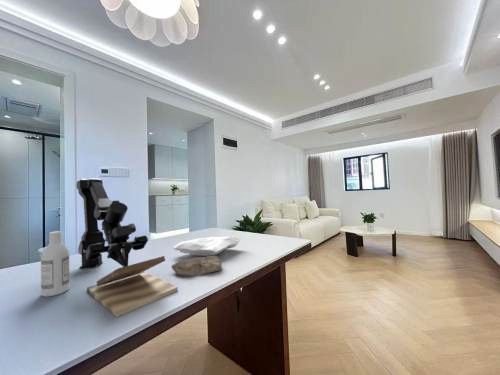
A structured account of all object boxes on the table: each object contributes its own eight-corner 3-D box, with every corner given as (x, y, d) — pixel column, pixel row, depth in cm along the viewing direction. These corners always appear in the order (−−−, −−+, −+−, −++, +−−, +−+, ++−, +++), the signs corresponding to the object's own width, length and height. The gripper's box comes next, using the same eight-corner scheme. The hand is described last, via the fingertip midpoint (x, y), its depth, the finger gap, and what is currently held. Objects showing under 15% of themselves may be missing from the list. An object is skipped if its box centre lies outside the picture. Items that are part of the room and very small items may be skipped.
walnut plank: (96, 281, 71) (117, 268, 60) (139, 268, 82) (164, 255, 71) (97, 286, 71) (118, 274, 59) (140, 273, 82) (165, 260, 70)
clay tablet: (171, 281, 78) (224, 272, 85) (171, 267, 78) (224, 259, 85) (172, 269, 91) (218, 262, 98) (171, 257, 91) (217, 251, 98)
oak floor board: (87, 290, 71) (87, 287, 71) (141, 273, 85) (141, 270, 85) (116, 317, 55) (116, 312, 55) (177, 290, 70) (177, 286, 70)
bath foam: (67, 285, 75) (66, 229, 76) (71, 291, 71) (70, 231, 71) (39, 293, 70) (39, 232, 70) (42, 299, 66) (42, 234, 66)
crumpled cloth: (249, 253, 104) (248, 235, 105) (173, 263, 92) (173, 241, 93) (235, 249, 125) (234, 233, 127) (173, 256, 113) (172, 239, 115)
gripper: (88, 220, 69) (100, 260, 62) (145, 214, 84) (160, 246, 77) (81, 241, 74) (91, 281, 67) (136, 232, 88) (150, 264, 81)
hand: (126, 266), depth 73 cm, fingers closed
